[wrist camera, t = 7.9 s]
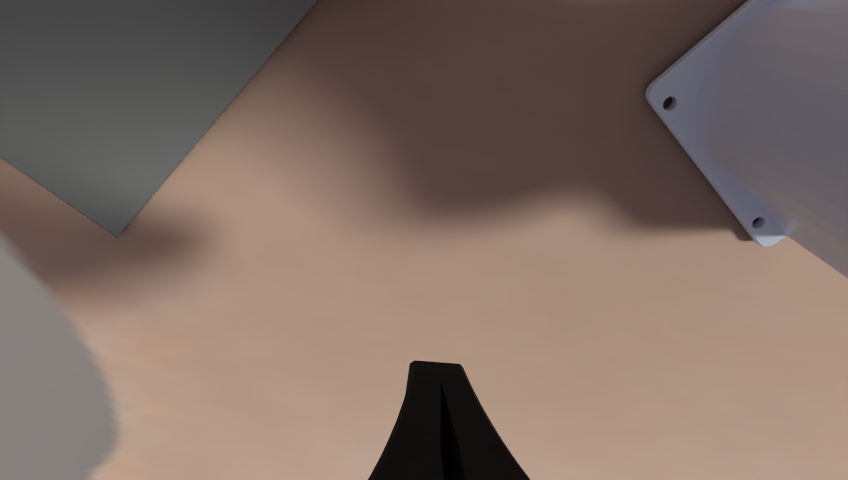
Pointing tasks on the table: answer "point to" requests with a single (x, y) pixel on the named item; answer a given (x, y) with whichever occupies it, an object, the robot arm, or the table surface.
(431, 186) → the table surface
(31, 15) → the mat
